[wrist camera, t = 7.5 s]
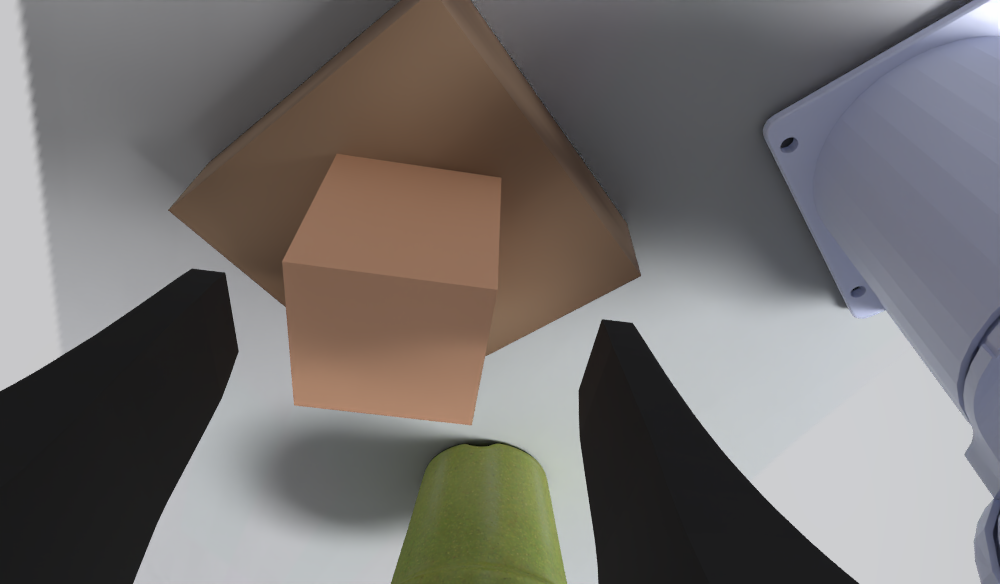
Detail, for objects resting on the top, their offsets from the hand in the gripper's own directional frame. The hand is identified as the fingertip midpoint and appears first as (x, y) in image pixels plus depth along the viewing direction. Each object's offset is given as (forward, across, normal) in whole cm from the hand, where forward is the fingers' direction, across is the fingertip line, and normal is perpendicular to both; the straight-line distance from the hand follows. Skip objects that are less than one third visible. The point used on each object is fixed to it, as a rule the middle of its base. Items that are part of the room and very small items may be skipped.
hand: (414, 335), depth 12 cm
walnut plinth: (+9, +1, +2) cm, 10 cm away
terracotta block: (+6, +1, +2) cm, 7 cm away
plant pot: (+10, -3, +18) cm, 21 cm away
